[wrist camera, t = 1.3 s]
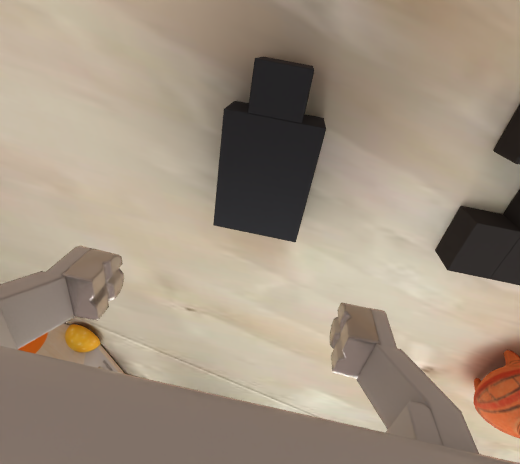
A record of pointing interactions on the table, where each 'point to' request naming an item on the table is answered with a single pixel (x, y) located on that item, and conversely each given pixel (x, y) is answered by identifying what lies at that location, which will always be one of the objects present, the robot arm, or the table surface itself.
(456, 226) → the black notched square block
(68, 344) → the shape sorter
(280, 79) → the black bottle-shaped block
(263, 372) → the table surface
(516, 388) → the pot
